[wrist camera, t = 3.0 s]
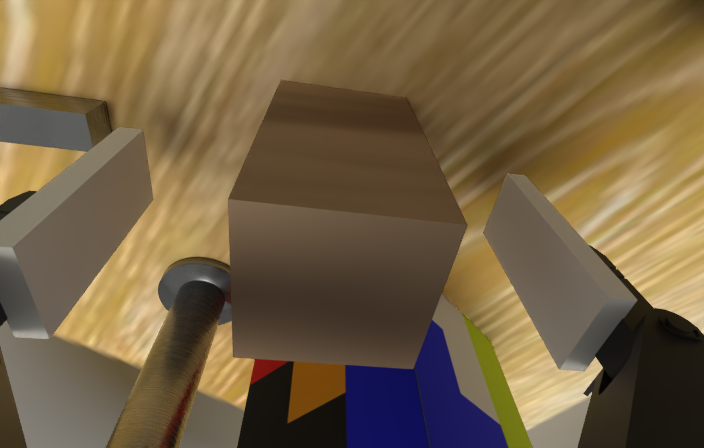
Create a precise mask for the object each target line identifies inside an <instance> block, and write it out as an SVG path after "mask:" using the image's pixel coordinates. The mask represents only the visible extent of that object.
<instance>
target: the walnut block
mask: <svg viewBox="0 0 704 448" xmlns="http://www.w3.org/2000/svg"><path fill="white" fill-rule="evenodd" d="M228 212H229V244H230V276H231V307H232V339H233V357H235V358H251V359H266V360H281V361H296V362H311V363H326V364H342V365H357V366H372V367H387V368H402V369H413V368H414V366H415V363H416V360H417V358H418V355H419V353H420V350H421V347H422V345H423V342H424V339H425V337H426V334H427V331H428V329H429V326H430V323H431V321H432V318H433V315H434V313H435V310H436V307H437V305H438V302H439V300H440V297H441V294H442V292H443V289H444V286H445V284H446V281H447V278H448V276H449V273H450V270H451V268H452V265H453V262H454V260H455V257H456V255H457V252H458V249H459V247H460V244H461V241H462V239H463V236H464V233H465V231H466V228H467V223H466V221H465V218H464V216H463V214H462V212H461V210H460V208H459V206H458V204H457V202H456V200H455V198H454V196H453V193H452V191H451V189H450V187H449V185H448V183H447V181H446V179H445V177H444V175H443V173H442V171H441V169H440V166H439V164H438V162H437V160H436V158H435V156H434V154H433V152H432V150H431V148H430V146H429V144H428V141H427V139H426V137H425V135H424V133H423V131H422V129H421V127H420V125H419V123H418V121H417V119H416V116H415V114H414V112H413V110H412V108H411V106H410V104H409V102H408V100H407V98H404V97H397V96H390V95H383V94H376V93H369V92H361V91H354V90H347V89H340V88H333V87H326V86H319V85H312V84H305V83H298V82H291V81H284V80H281V81H280V83H279V85H278V88H277V90H276V92H275V94H274V97H273V99H272V101H271V103H270V106H269V108H268V110H267V112H266V115H265V117H264V119H263V121H262V124H261V126H260V128H259V131H258V133H257V135H256V137H255V140H254V142H253V144H252V146H251V149H250V151H249V153H248V155H247V158H246V160H245V162H244V164H243V167H242V169H241V171H240V173H239V176H238V178H237V180H236V182H235V185H234V187H233V189H232V191H231V194H230V196H229V198H228Z"/></svg>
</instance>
